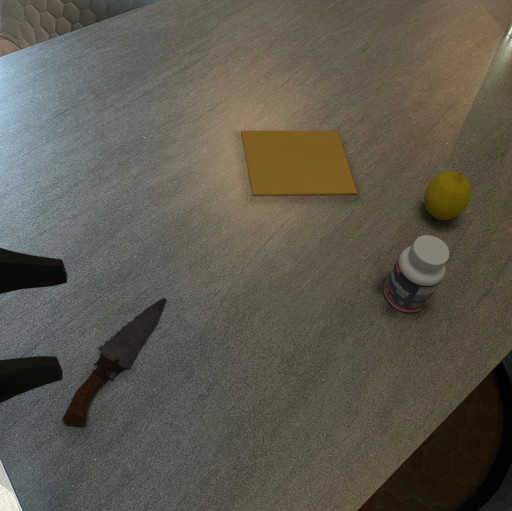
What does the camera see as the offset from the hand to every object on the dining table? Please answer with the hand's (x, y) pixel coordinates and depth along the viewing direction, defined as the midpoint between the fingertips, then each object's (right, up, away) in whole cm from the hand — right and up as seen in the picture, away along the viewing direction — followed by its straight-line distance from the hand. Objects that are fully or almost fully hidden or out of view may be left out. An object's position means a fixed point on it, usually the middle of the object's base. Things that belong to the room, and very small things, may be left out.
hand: (62, 317), depth 42 cm
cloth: (+19, +17, +43) cm, 50 cm away
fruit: (+37, +9, +40) cm, 55 cm away
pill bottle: (+31, -1, +32) cm, 44 cm away
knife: (-1, -6, +22) cm, 23 cm away
